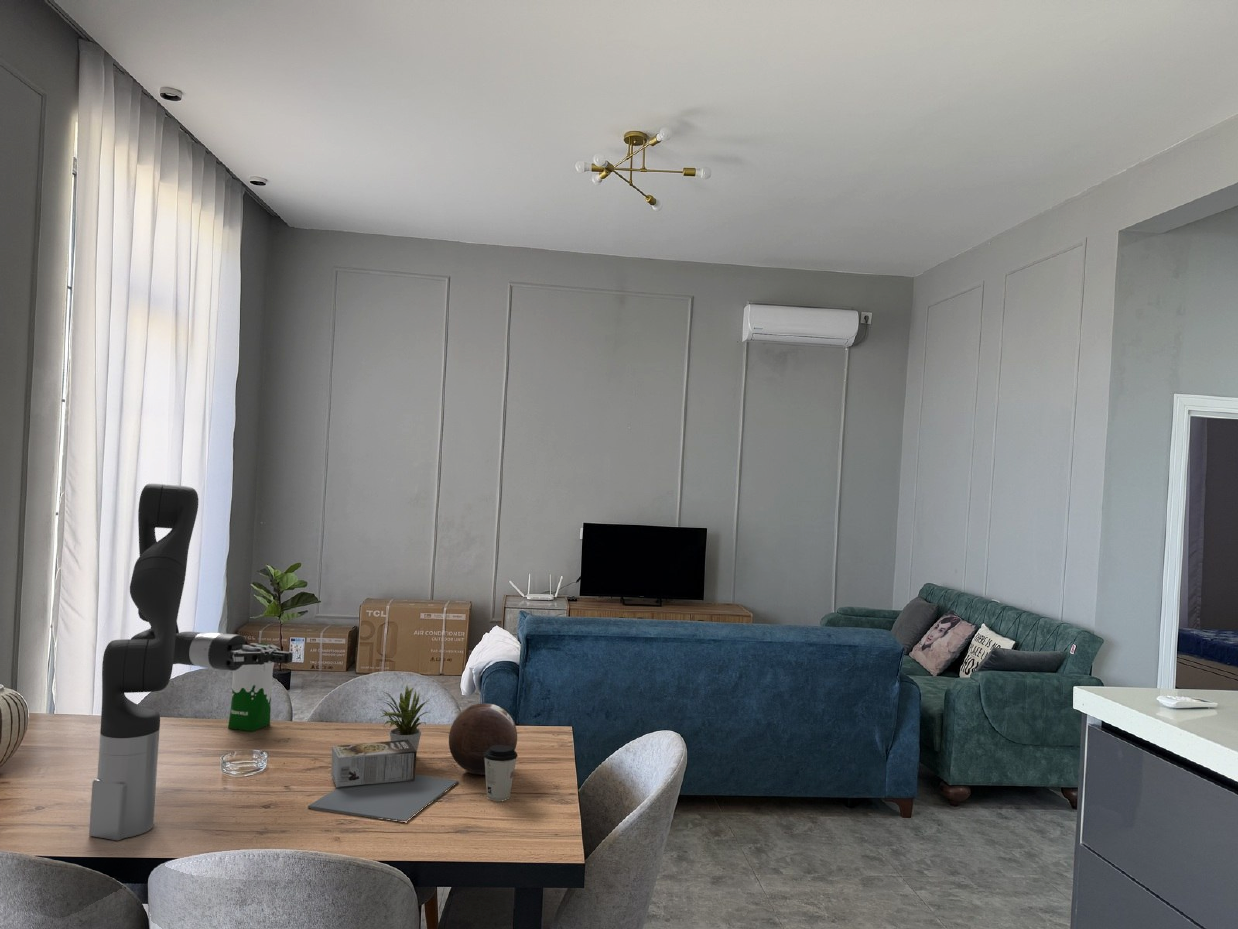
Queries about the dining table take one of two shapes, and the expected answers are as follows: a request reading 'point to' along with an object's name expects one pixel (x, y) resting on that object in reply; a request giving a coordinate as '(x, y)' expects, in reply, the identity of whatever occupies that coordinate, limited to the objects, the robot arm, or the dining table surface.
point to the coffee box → (373, 763)
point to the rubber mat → (385, 798)
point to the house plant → (405, 719)
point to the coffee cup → (499, 771)
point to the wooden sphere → (480, 735)
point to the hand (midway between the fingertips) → (290, 658)
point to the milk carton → (251, 696)
